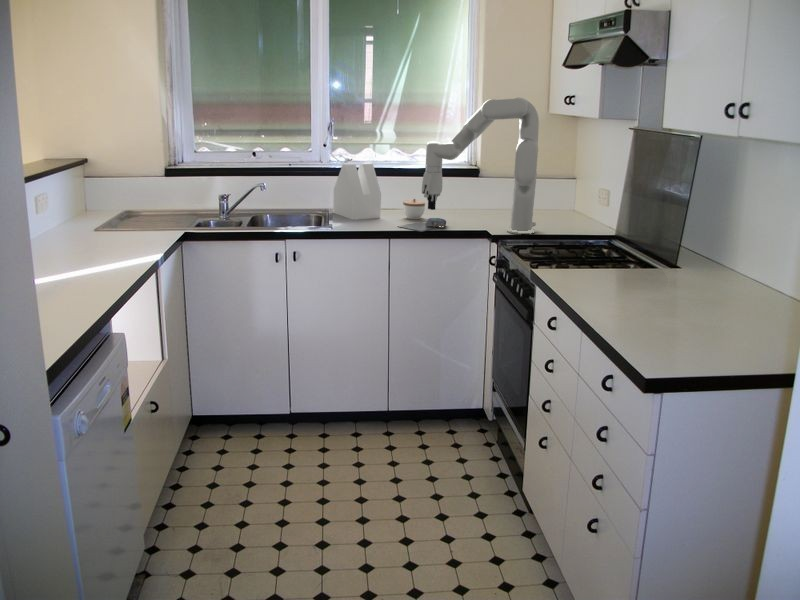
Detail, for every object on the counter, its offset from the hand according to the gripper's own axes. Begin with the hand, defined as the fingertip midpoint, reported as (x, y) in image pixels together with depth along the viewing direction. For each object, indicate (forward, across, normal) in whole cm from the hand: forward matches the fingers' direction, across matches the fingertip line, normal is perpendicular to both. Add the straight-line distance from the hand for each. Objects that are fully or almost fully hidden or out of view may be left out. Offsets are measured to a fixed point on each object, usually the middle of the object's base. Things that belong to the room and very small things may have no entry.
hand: (431, 209), depth 377 cm
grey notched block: (+8, +9, -39) cm, 41 cm away
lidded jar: (+8, -8, -17) cm, 20 cm away
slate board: (+8, +7, 0) cm, 10 cm away
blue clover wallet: (+6, -4, +1) cm, 7 cm away
